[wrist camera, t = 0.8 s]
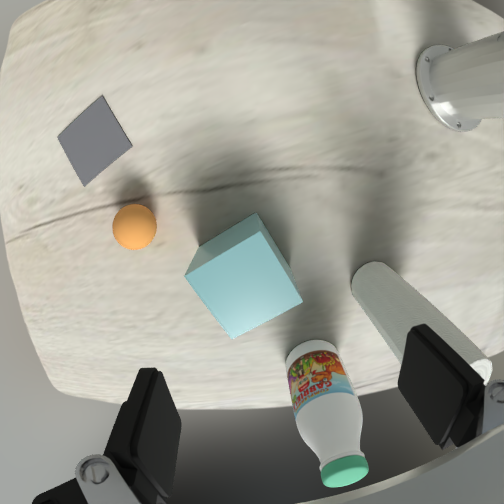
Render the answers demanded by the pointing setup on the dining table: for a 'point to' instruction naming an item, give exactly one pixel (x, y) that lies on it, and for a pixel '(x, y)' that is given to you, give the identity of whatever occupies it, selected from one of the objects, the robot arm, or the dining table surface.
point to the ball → (134, 226)
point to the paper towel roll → (408, 314)
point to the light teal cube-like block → (243, 277)
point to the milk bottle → (327, 411)
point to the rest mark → (94, 141)
